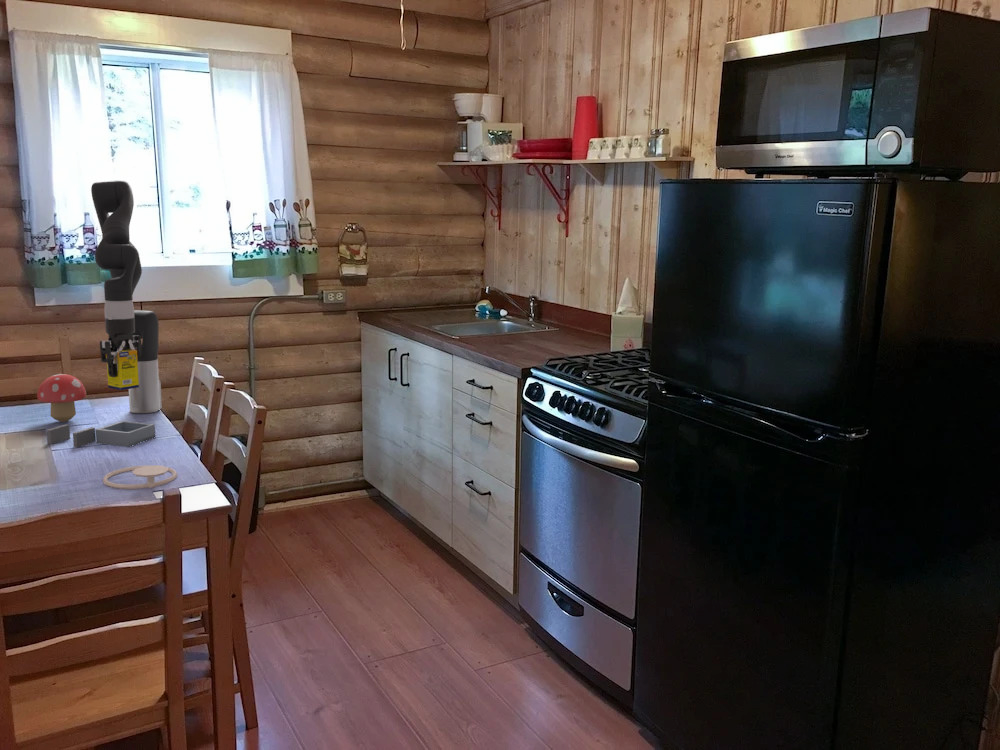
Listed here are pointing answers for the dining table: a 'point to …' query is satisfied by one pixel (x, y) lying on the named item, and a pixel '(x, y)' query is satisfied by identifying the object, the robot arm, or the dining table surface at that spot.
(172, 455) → the dining table surface
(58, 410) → the decorative mushroom
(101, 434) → the tray
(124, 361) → the supplement box
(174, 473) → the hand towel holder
